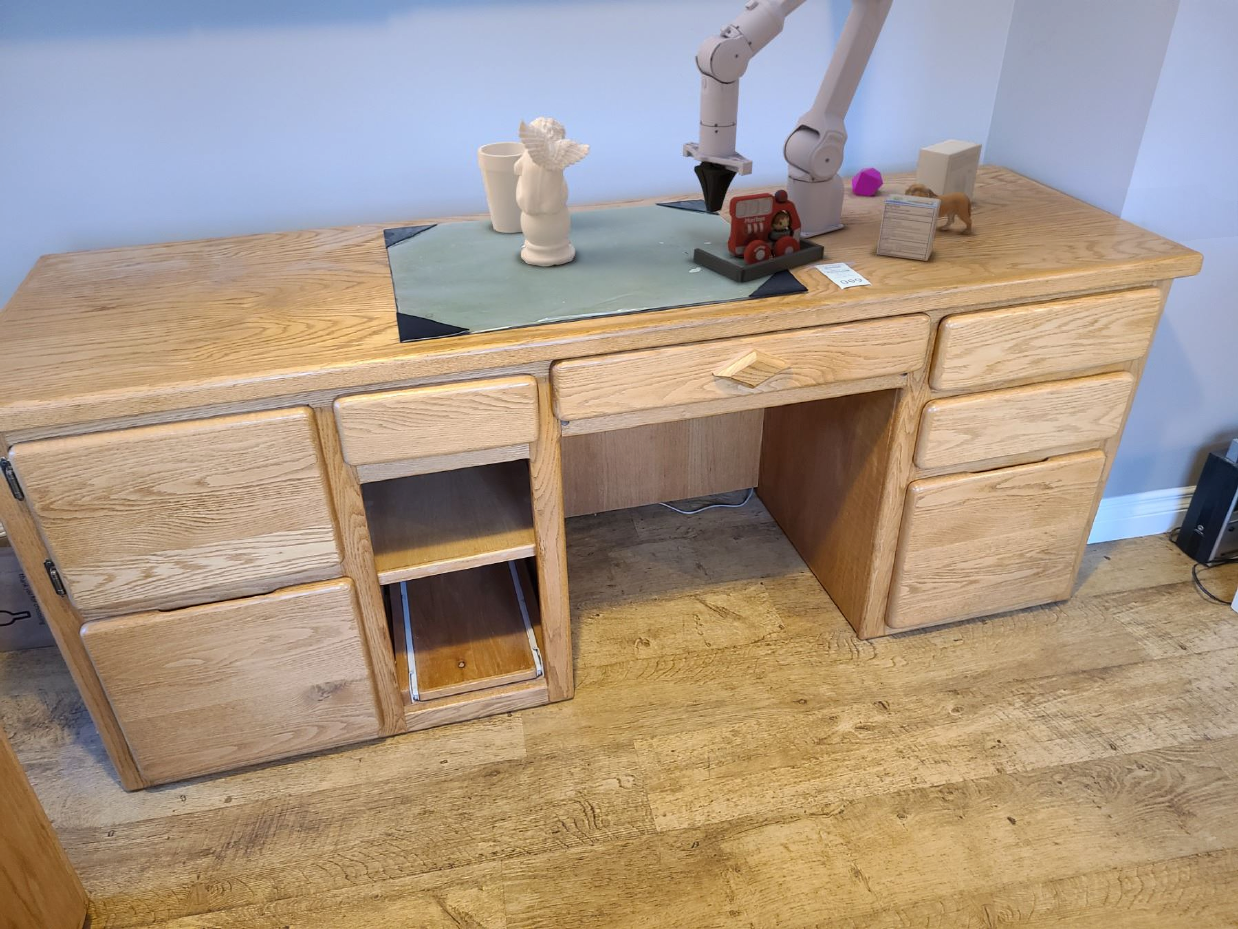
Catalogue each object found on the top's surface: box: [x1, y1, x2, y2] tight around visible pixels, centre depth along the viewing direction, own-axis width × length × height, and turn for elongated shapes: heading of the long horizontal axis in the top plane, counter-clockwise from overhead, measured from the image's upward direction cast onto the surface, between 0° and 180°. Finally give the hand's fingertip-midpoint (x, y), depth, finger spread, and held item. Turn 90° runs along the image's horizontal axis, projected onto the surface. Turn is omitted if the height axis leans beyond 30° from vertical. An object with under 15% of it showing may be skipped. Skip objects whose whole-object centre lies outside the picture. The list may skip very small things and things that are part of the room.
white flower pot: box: [477, 141, 527, 234], centre depth 150 cm, size 10×9×13 cm
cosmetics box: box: [914, 138, 983, 203], centre depth 159 cm, size 10×6×10 cm, turn 131°
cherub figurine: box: [514, 116, 591, 267], centre depth 134 cm, size 12×12×22 cm
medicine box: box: [876, 193, 941, 262], centre depth 139 cm, size 8×4×9 cm, turn 65°
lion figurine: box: [904, 183, 973, 235], centre depth 147 cm, size 15×5×9 cm, turn 113°
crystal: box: [850, 167, 884, 197], centre depth 168 cm, size 5×5×5 cm
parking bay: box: [693, 237, 825, 284], centre depth 139 cm, size 17×11×2 cm, turn 125°
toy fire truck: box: [726, 189, 801, 265], centre depth 137 cm, size 7×12×10 cm, turn 112°
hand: (713, 210), depth 145 cm, fingers closed
